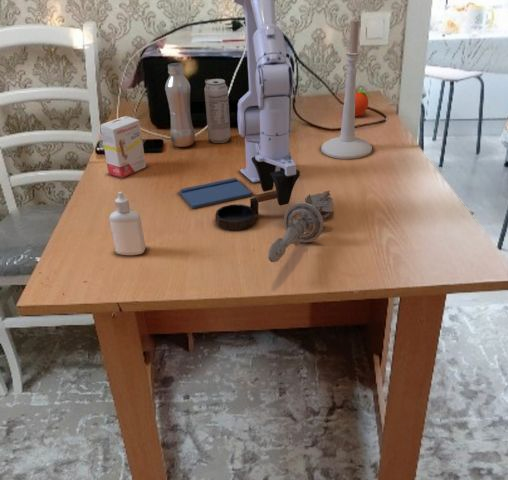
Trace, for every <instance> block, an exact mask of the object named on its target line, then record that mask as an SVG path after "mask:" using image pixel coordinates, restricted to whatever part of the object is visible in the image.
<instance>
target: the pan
mask: <svg viewBox="0 0 508 480" xmlns="http://www.w3.org/2000/svg"><path fill="white" fill-rule="evenodd" d="M253 196H254V197H252V198H250V199H249V205H246V204H243V203H241V204H240V203H238V204H237V203H235V204H228V205H224V206H222V207H220V208H218V209H217V210H216V212H215V214H214V215H215V223H216V225H217V227H219V228H220V229H222V230H224V231H225V230H226V231H233V232H234V231H243V230H247V229H249V228H251V227H252V226H254V225H255V223H256V216H258V215H259V203H263V202H267V201H271V200H277V194H276V190H271V191H266V192H263V193H258V194H255V195H253Z"/></svg>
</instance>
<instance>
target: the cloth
mask: <svg viewBox="0 0 508 480" xmlns="http://www.w3.org/2000/svg"><path fill="white" fill-rule="evenodd" d="M178 192H179V195H180V196H181V197H182V198H183V199H184V200H185V202H186V203H187V204H188V205H189V206H190V207H191V208H192V209H198V208H202V207H207V206H208V207H209V206H212V205H216V204H220V203H225V202H229V201H230V202H231V201H235V200H239V199H244V198H247V197H252V196H253V193H252V192H251V190H249V189H248V188H247V187H246V186H245V185H243V183H241V182H240V181H239V180H238V178H236V177H232V178H228V179H223V180H217V181H214V182H208V183H203V184H199V185H193V186H190V187H185V188H181V189H180V190H179V191H178Z"/></svg>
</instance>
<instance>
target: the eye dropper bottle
mask: <svg viewBox="0 0 508 480" xmlns="http://www.w3.org/2000/svg"><path fill="white" fill-rule="evenodd" d="M117 194H118V195H117V197H116V198H115V200H114V203H115V205H114V206H115V209H116V210H114V211H113V212H111V213H110V215H109V217H108V219H109V226H110V230H111V237H112V240H113V245H114V250H115V253H116V254H118V255H121V256H137V255H141V254H143V253H144V252H145V250H146V241H145V235H144V230H143V225H142V224H143V223H142V218H141V215H140V213H139V212H138V211H136V210H133V209H131V206H130V201H129V197H127V196H124V193H123V191H118V192H117Z"/></svg>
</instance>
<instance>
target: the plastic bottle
mask: <svg viewBox="0 0 508 480" xmlns="http://www.w3.org/2000/svg"><path fill="white" fill-rule="evenodd" d="M167 73H168V78H167V80H166V82H165V85H164V91H165V95H166V99H167V103H168V109H169V115H170V129H169V131H170V132H169V134H170V135H169V137H170V141H171V143H172V145H174V146H175V147H177V148H181V147H182V148H186V147H189V146H191V145H192V146H193V144H194V142H195V140H196V139H195V138H196V134H195V128H194V126H193V121H192V115H191V84H190V82H189V80H188V79H187V77H185V75H184V73H185V71H184V65H183V63H181V62H172V63H169V64H167Z"/></svg>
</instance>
